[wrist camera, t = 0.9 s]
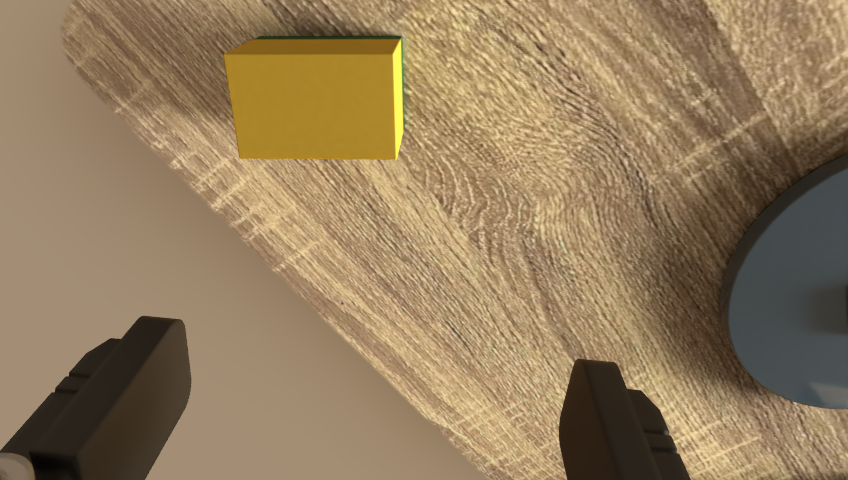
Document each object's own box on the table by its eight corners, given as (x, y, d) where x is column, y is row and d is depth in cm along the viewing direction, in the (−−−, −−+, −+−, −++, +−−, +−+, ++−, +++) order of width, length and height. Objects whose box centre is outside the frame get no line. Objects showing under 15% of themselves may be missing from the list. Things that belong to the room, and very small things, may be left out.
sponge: (258, 36, 28) (222, 53, 24) (402, 35, 28) (393, 53, 24) (270, 127, 30) (239, 159, 26) (404, 127, 30) (396, 160, 26)
